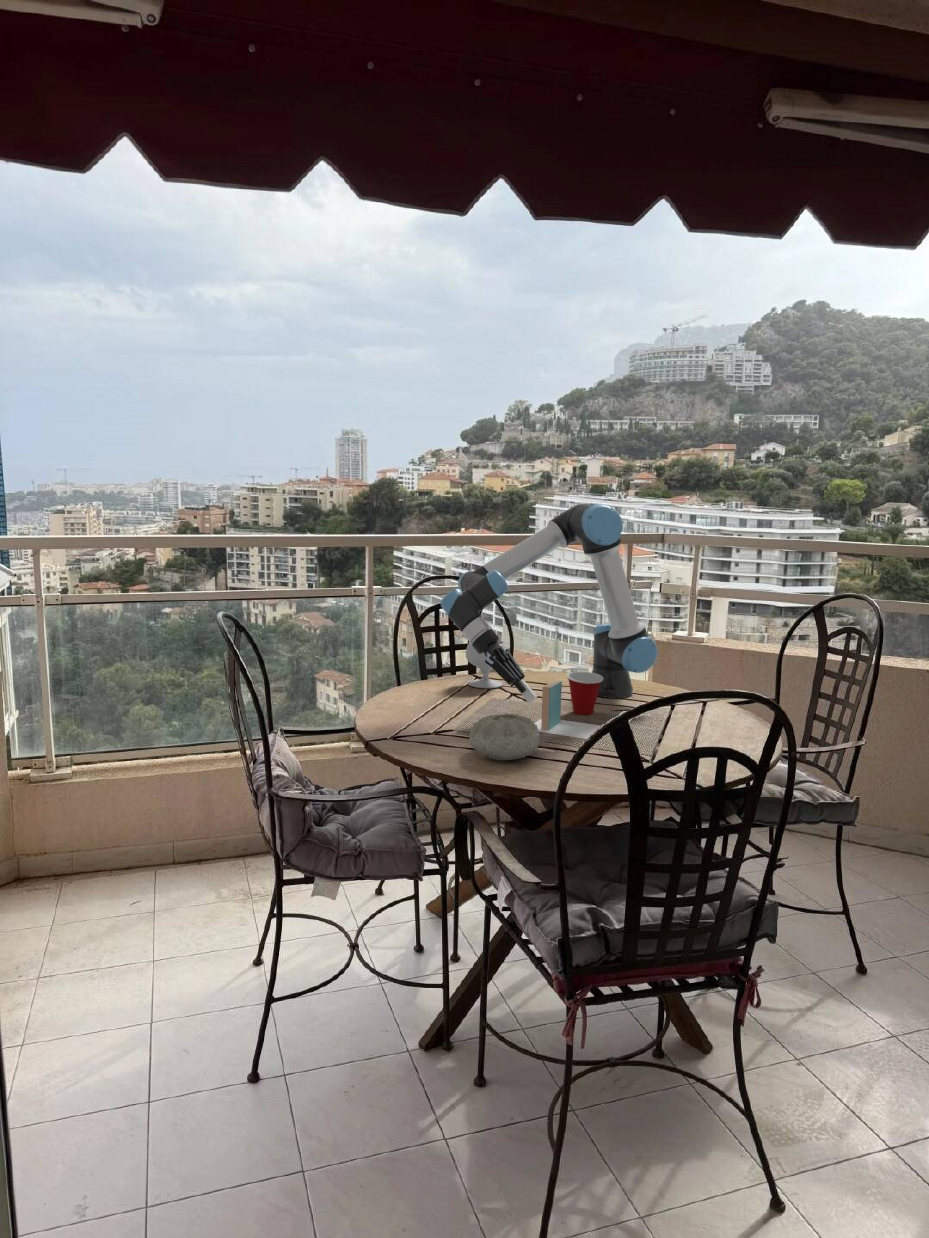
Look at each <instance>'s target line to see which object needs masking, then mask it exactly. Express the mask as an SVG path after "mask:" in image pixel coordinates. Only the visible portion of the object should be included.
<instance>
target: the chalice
mask: <svg viewBox="0 0 929 1238" xmlns="http://www.w3.org/2000/svg"><path fill="white" fill-rule="evenodd" d="M497 643H498V644H499V645H500V646H501V647H502V648H503V649H504V650H506V649H507V648H506V647H507V646H506V645H505V643H504V641H502V640H498V641H497ZM465 658H466V660H467V662H468V663H469V664H471V665H473V666H475V667H476V668H478V669H479V670H480V671H481V673H482V674H483V675H482V678H481V679H473V680H470V681H469V682H468V683H467V685H468V686H470V687H472V688H473V687H474V688H475V689H476V688H478V689H497V688H501V687H503V686H504V683H503V682H502V681H500V680H494V679H490V677H489V675H490V672H491V671H492V670H494V669H493V668H492V667H491V666H489V665H488V664H486V663H485V660H486V659H487V657H486V656H485V654H484V653H482V654H479V653H478V652H477V651H476V650H475V649H474V647H473V646H472V643H470V642H469V641H468V644H467V646H466V649H465Z"/></svg>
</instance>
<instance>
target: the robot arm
mask: <svg viewBox="0 0 929 1238" xmlns="http://www.w3.org/2000/svg"><path fill="white" fill-rule="evenodd" d="M623 527H624V525H623V519H622V517H621V515H620V514H619V512H618V511H617V509H615V508H613V507H612V506H608V505H606V504H601V503H595V504H589V503H580V504H577V505H574V506H571V507H570V508H568V509H566V510H565V511H563V512H562V513H560V514H558V515H557V516H555V517H554V518H552V519H551V520H548V521H547V526H545V527H544V528H542V529H539V530H538V531H536V533H534V534H532V535H530V536H529V537H527V538H525V539H523V540H522V541H520V542H518V543H517V544H516V545H514V546H513V547H510V548H509V549H508V550H506V551H504V552H503V553H501V554H499V555H497V556H496V557H494V558H492V559H491V560H489V561H488V562H486V563H484V564H483V565H481V566H479V567H477V568H476V569H475V570H473V571H466V572H463V573H462V574H461V575H460V576H459V578H458V581H457V585H458V588H454V589H453V590H451V591H449V592H448V593H447V594H446V595H444V597H443V598H442V599H441V600H440V607H441V608H442V610H443V611H444V612H445V614H446V615H447V617H448V618H449V619H450V620H451V622H452V623H453V624H454V625H455V627H457V628H458V631H460V632H461V633H462V635H463V637H464V639H466V640H467V641H468V643H469V642H470V643H472V646H473V647H474V649H475V650H476V651H477V652H478V653H479V654H482V653H484V654H485V656H486V657H487V659H486V660H485V663H486V664H488V665H489V666H491V667H492V668H493V669H492V670H493V671H494V672H495V673H497V674H498V676H499V677H501V679H503V680H504V682H505V683H507V685H509V687H511V688H513V687H514V686H515V688H516V689H517V691H518V692H519V693H520V694H521V695H522V697H523V698H524V699H525V700H526V702H527V703H528V704H531V703H532V702H533V701H534V700H535V699H537V697H538V695H537V694H536V693H535V691H533V689H532V688H531V687H530V686H529V684H528V683H527V682H526V681H525V679H524V678H525V677H526V675H525V674H524V672H523V671H522V669H521V668H520V667H521V666H519V665H518V662H517V661H516V660H515V658H514V657H513V656H512V653H511V651H510V649H509V648H506V650H504V649H503V648H502V647H501V646H500V645H499V644H498V643H497V641H498V640H499V639H500V637H499V636H498V634H497V633H496V632H495V631H494V629H492V628H491V625H490V624H489V623H488V621H487V620H485V618H484V617H483V616H482V615H481V614H480V612H481V611H483V610H484V609H486V608H487V607H488V606H490V605H491V604H492V603H494V602H495V601H497V600H498V599H499V598H501V597H502V596H503V595H504V594H505V593H506V592H507V591H508V590H509V584H508V582H507V581H506V580H507V579H509V578H511V577H513V576H514V575H516V574H517V573H519V572H521V571H523V570H524V569H526V568H528V567H529V566H531V565H532V564H534V563H535V562H538V560H539V561H540V560H541V559H542V558H544V557H546V556H547V555H548V554H550V553H552V552H553V551H555V550H556V549H559V548H563V549H564V548H566V547H568V546H570V545H571V544H575V543H579V542H580V543H581V546H582V550H583V553H584V555H586V556H587V557H589V558H590V559H591V563H592V566H593V570H594V573H595V577H596V581H597V583H598V586H599V590H600V594H601V597H602V601H603V604H604V607H605V610H606V614H607V618H608V621H609V623H608V624H607V623H606V624H605V623H604V624H597V625H596V626H595V628H594V633H593V654H592V655H593V657H592V658H593V659H592V671H591V673H596V674H598V675H601V676H602V677H603V681H602V682H601V684H600V687H599V690H598V695H597V697H603V698H609V699H610V698H613V699H614V698H618V699H619V698H627V697H630V696H632V695H633V692H634V690H633V689H634V686H633V684H632V682H631V681H632V680H631V676H630V675H631V674H630V672H631V673H636V674H638V673H639V674H640V673H644V672H647V671H648V670H650V669H651V668H652V667H653V666H654V664H655V662H656V661H657V658H658V652H659V650H658V646H657V643H656V642H655V641H654V639H653V638H652V637H649V636H648V632H647V628H646V625H645V623H643V622H641V621H639V618H638V615H637V612H636V608H635V604H634V601H633V597H632V594H631V591H630V586H629V582H628V580H627V576H626V572H625V569H624V565H623V561H622V558H621V554H620V552H619V548H620V546H621V545H622V544H623V543H622V540H621V535H622V532H623V531H624V530H623V529H624V528H623Z"/></svg>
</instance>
